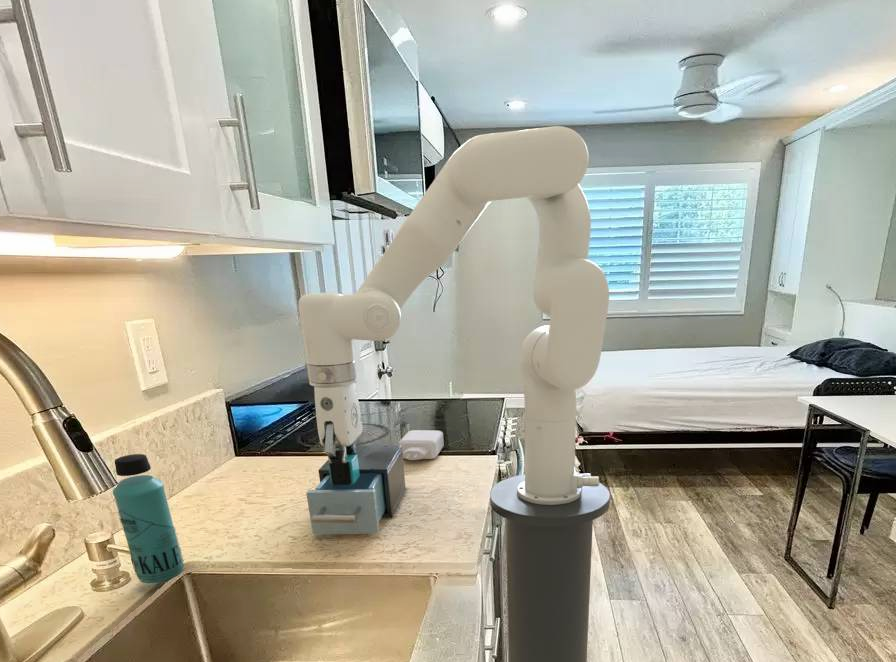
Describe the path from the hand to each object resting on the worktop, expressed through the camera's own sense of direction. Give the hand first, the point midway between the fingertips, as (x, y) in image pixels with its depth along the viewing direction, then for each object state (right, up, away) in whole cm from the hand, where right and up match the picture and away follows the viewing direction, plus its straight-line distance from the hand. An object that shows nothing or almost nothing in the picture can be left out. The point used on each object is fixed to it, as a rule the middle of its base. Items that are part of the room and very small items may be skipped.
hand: (345, 478), depth 99 cm
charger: (+7, +6, +40) cm, 41 cm away
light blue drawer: (0, -8, +3) cm, 9 cm away
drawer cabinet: (+1, -4, +14) cm, 15 cm away
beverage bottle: (-24, -16, -13) cm, 32 cm away
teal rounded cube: (0, 0, 0) cm, 0 cm away
